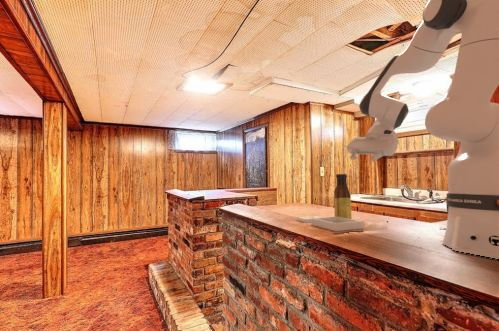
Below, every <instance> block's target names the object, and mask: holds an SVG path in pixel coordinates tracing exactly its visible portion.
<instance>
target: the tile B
mask: <svg viewBox="0 0 499 331" xmlns="http://www.w3.org/2000/svg"><path fill="white" fill-rule="evenodd" d="M311 217H312V216H298V217H296V219H297V220H298V221H297V222H300V221H301V222H300V223H303V222H312V218H311Z"/></svg>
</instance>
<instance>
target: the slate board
mask: <svg viewBox="0 0 499 331" xmlns="http://www.w3.org/2000/svg"><path fill="white" fill-rule="evenodd" d="M291 221H296V222H300V223H304V224H312V222H301V221H298V220H297V218H291Z"/></svg>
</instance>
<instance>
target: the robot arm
mask: <svg viewBox="0 0 499 331" xmlns="http://www.w3.org/2000/svg"><path fill="white" fill-rule="evenodd" d="M458 34H461V37H460V38H461V39H460V43H459V47H458V52H457V59H456V64H455V68H454V73H453V77H452V79H451V83H450V85H449V87H448V89H447V91H446V92H445V94H444V96H443V97H442V98H441V99H440V100H439V101H437V102H436V103H435V104H433V105H432V106H431V107H430V108H429V110H428V111H427V113H426V116H425V117H424V118H425V119H424V126H425V129H426V130H427V132H428V133H429V134H430V135H431V136H433V137H435V138H439V139H441V140H445V141H447V142H460V146H459V150H458V152H457V155H456V157H455V158H454V159H453V160H452V161H450V163H449V164H448V165H447V186H448V192H447V193H446V203H445V205H446V212H447V221H446V228H445V232H444V236H443V239H442V241H441V242H442V243H441V244H442V245H443V246H445V245H446V246H445V247H447V246H448V248H449V249H451V248H452V249H451V250H452V251H453V250H455V251H454V252H456V251H460V252H459V253H461V252H464V253H463V254H466V253H470V254H469V255H471V254H474V255H473V256H476V255H480V256H479V257H481V256H486V257H491V258H490V259H492V258H496V259H495V260H497V259H499V103H496V102H491V100H492V97H493V95H494V93H495V92H496V90H497V88H498V87H499V0H427V2H426V3H425V5H424V8H423V10H422V22H421V24H420V25H419V26H418V28H417V29H416V32H415V33H414V34H413V36H412V39H411V41H410V42H409V44H408V45H407V47H406V49H404V51H402V52H401V53H399V54H395V55H393V56H392V57H391V59H390V60H389V61H388V63H387V64H386V65H385V66H384V68H383V69H382V71H381V73H380V74H379V75H378V77H377V78H376V80H375V82H374V83H373V85H371V87H370V89H369V90H368V92H367V93H366V94H365V95H364V96H363V97H362V98H361V101H360V102H359V106H358V107H359V110H360V112H361V114H362V115H366V116H368V117H372V118H375V121H373V125H371V127H370V128H369V129H368V131H367V132H366V133H365V135H364V136H362V137H361V136H357V137H354V138H352V140H351V141H349V143H348V144H347V145H346V147H345V148H346V151H347V153H348V154H350V156H349V159H350V160H351V161H356V158H357V157H356V155H372V156H371V157H370V161H371V162H372V163H373V162H375V163H376V162H377V161H378V159H380V158H382V157H383V156H384V157H385V156H387V157H391V156H393V155H395V153H396V152H397V149H398V145H399V144H400V140H399V137H398V135H397V133H396V131H395V129H397V128H399V127H401V125H402V124H403V122H404V121H405V119H406V118H407V116H408V114H409V106H408V104H407V103H406V102H404V101H401V100H399V99H395V98H392V97H389V96H388V95H384V94H383V93H381V92H382V90H383V89H384V87H385V86H386V84H387V83H388V82H389V80H390V79H391V78H392V77H393V76H396V75H402V74H403V75H404V74H417V73H418V74H419V73H422V72H426V71H429V70H430V69H432V68H434V67H435V66H436V65H437V63H438V62H439V61H440V59H441V58H442V56H443V55H444V53H445V51H446V50H447V48H448V46H449V45H450V43H451V41H452V39H453V38H454V37H455V36H456V35H458ZM486 257H485V258H486Z"/></svg>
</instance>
